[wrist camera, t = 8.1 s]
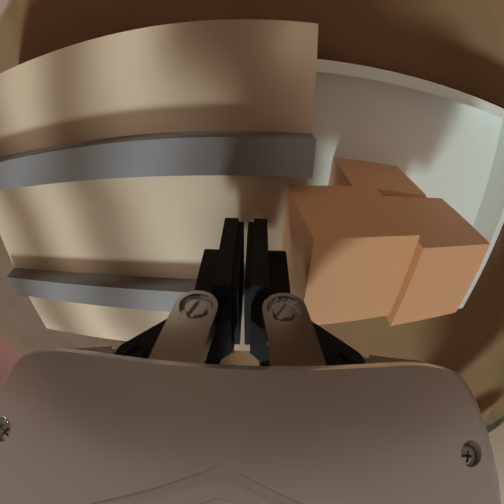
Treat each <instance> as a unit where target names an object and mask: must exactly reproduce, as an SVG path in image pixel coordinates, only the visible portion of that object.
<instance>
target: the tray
mask: <svg viewBox="0 0 504 504" xmlns="http://www.w3.org/2000/svg"><path fill="white" fill-rule="evenodd" d="M312 135H313V136H314V138H315V139H316V148H315V158H314V168H313V178H308V180H307V185H314V186H328V184H329V178H330V172H331V166H332V159H333V157H339V158H347V159H354V160H361V161H368V162H375V163H381V164H387V165H393V166H397V167H398V168H399V169H400V170H401V171H402V172H403V173H404V174H405V175H406V176H407V177H408V178H409V179H410V180H412V181H413V182H414V183H415V184H416V185H417V186H418V187H419V188H420V189H421V190H422V191H423V192H424V194H425V195H426V197H428V198H442V199H443V200H444V201H445V202H446V203H447V204H449V205H450V206H451V207H452V208H453V209H454V210H455V211H457V212H458V213H459V214H460V215H461V216H462V217H463V218H464V219H465V220H466V221H467V222H468V223H470V224H471V225H472V226H473V227H474V228H475V229H476V230H477V231H478V232H479V233H480V234H481V235H482V236H483V237H484V238H485V239H486V240H487V241H488V242H489V243H490V246H489V248H488V251H487V253H486V255H485V257H484V259H483V261H482V264H481V266H480V268H479V270H478V272H477V274H476V276H475V278H474V280H473V282H472V284H471V286H470V288H469V289H468V291H467V293H466V295H465V297H464V299H463V301H462V302H461V304H460V306H459V308H458V309H460V308H463V306H464V305H465V303H466V301H467V299H468V297H469V296H470V294H471V292H472V290H473V288H474V286H475V284H476V283H477V281H478V279H479V277H480V275H481V273H482V271H483V269H484V267H485V264H486V262H487V260H488V258H489V256H490V254H491V252H492V249H493V247H494V245H495V242H496V240H497V238H498V235H499V233H500V230H501V228H502V225H503V223H504V109H503V108H501V107H498V106H496V105H494V104H492V103H489V102H487V101H484V100H482V99H479V98H477V97H474V96H472V95H469V94H466V93H464V92H461V91H458V90H455V89H452V88H449V87H446V86H443V85H440V84H437V83H433V82H430V81H427V80H423V79H420V78H416V77H412V76H408V75H405V74H400V73H396V72H392V71H388V70H383V69H378V68H373V67H368V66H363V65H357V64H351V63H345V62H338V61H331V60H323V59H317V68H316V85H315V100H314V113H313V126H312Z"/></svg>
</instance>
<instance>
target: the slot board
mask: <svg viewBox="0 0 504 504" xmlns="http://www.w3.org/2000/svg"><path fill="white" fill-rule="evenodd" d="M317 48H318V24H317V23H309V22H298V21H286V20H267V19H223V20H204V21H191V22H181V23H173V24H165V25H158V26H151V27H145V28H140V29H134V30H129V31H124V32H120V33H115V34H111V35H107V36H103V37H99V38H95V39H91V40H88V41H84V42H81V43H77V44H74V45H71V46H68V47H65V48H62V49H59V50H56V51H53V52H50V53H47V54H45V55H42V56H39V57H37V58H34V59H32V60H29V61H27V62H25V63H22V64H20V65H18V66H15V67H13V68H11V69H9V70H7V71H5V72H2V73H0V235H1V238H2V240H3V242H4V245H5V247H6V250H7V252H8V254H9V257H10V259H11V261H12V263H13V265H14V269H13V270H12V271H11V273H10V274H9V275H8V277H7V278H8V280H9V282H10V284H11V286H12V288H13V290H14V292H15V293H16V294H18V295H24V296H29V298H30V300H31V301H32V303H33V305H34V307H35V309H36V310H37V312H38V314H39V316H40V317H41V319H42V321H43V323H44V324H45V326H46V328H49V329H54V330H59V331H64V332H70V333H75V334H81V335H87V336H94V337H100V338H107V339H114V340H121V341H129V340H130V339H132V338H134V337H136V336H137V335H139V334H141V333H143V332H144V331H146V330H148V329H150V328H151V327H153V326H155V325H157V324H158V323H160V322H162V321H164V320H165V319H167V318H168V316H169V314H170V312H171V310H172V308H173V306H174V304H175V302H176V300H177V299H178V298H179V297H180V296H181V295H183V294H185V293H187V292H190V291H194V289H195V285H196V281H197V277H198V273H199V269H200V265H201V261H202V257H203V253H204V250H205V249H219V247H220V241H221V236H222V231H223V226H224V221H225V218H239V222H244V279H245V263H246V248H247V232H248V222H254V218H261V219H267V229H268V250H271V251H282V246H283V234H284V221H285V208H286V195H287V186H304V185H307V180H308V178H313V168H314V158H315V148H316V139H315V138H314V136H313V135H312V126H313V113H314V100H315V85H316V68H317ZM234 350H242V351H250V345H245V344H244V289H243V305H242V320H241V337H240V345H238V344H235V345H234Z"/></svg>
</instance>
